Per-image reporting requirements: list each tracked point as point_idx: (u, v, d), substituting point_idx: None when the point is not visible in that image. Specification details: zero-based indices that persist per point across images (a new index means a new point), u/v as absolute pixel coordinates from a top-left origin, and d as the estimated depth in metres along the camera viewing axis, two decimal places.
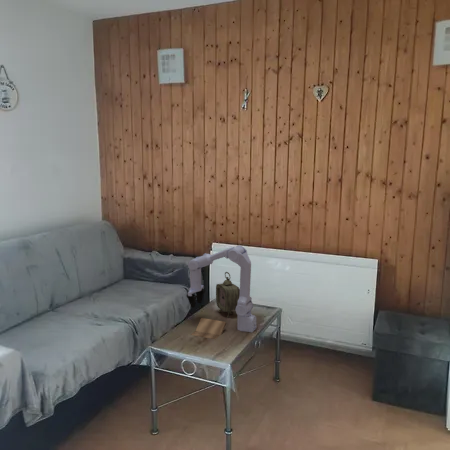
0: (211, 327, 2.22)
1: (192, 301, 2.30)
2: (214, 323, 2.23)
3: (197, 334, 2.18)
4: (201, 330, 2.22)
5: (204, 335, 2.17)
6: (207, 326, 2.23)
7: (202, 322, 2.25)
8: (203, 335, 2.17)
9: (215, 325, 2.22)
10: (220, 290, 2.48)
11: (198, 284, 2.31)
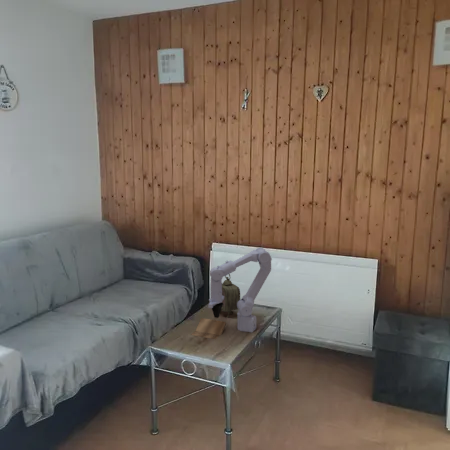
0: (211, 327, 2.22)
1: (216, 311, 2.20)
2: (214, 323, 2.23)
3: (197, 334, 2.18)
4: (201, 330, 2.22)
5: (204, 335, 2.17)
6: (207, 326, 2.23)
7: (202, 322, 2.25)
8: (203, 335, 2.17)
9: (215, 325, 2.22)
10: None
11: (219, 295, 2.17)
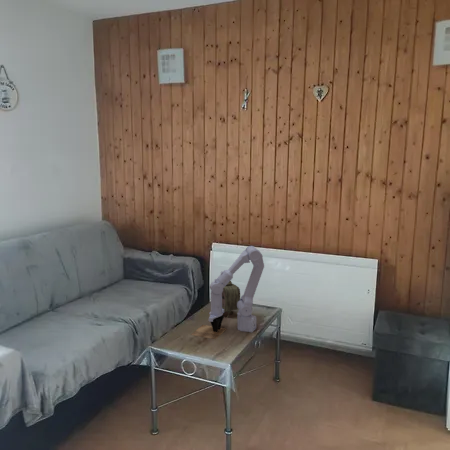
0: (212, 330, 2.22)
1: (215, 325, 2.20)
2: None
3: (197, 334, 2.18)
4: (201, 331, 2.22)
5: (204, 335, 2.17)
6: (208, 329, 2.24)
7: (203, 327, 2.27)
8: (203, 335, 2.17)
9: None
10: None
11: (219, 309, 2.18)
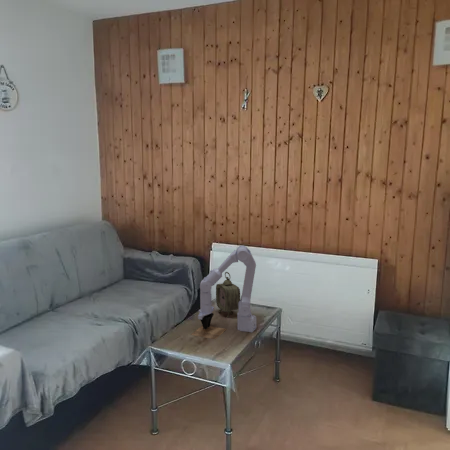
0: (212, 330, 2.23)
1: (205, 323, 2.23)
2: (215, 329, 2.24)
3: (197, 334, 2.18)
4: (201, 331, 2.22)
5: (204, 335, 2.17)
6: (208, 329, 2.24)
7: None
8: (203, 335, 2.17)
9: (216, 329, 2.23)
10: (220, 290, 2.48)
11: (208, 306, 2.21)
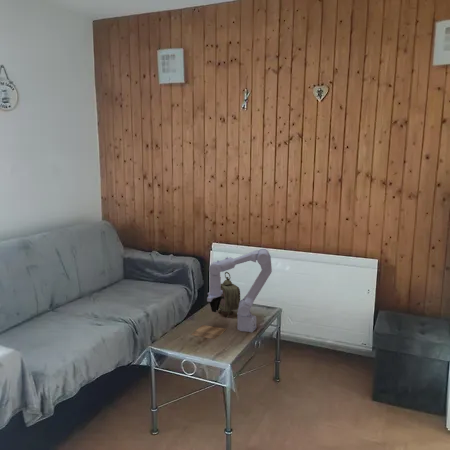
0: (212, 330, 2.23)
1: (213, 305, 2.22)
2: (215, 329, 2.24)
3: (197, 334, 2.18)
4: (201, 331, 2.22)
5: (204, 335, 2.17)
6: (208, 329, 2.24)
7: (203, 327, 2.27)
8: (203, 335, 2.17)
9: (216, 329, 2.23)
10: None
11: (218, 289, 2.20)
